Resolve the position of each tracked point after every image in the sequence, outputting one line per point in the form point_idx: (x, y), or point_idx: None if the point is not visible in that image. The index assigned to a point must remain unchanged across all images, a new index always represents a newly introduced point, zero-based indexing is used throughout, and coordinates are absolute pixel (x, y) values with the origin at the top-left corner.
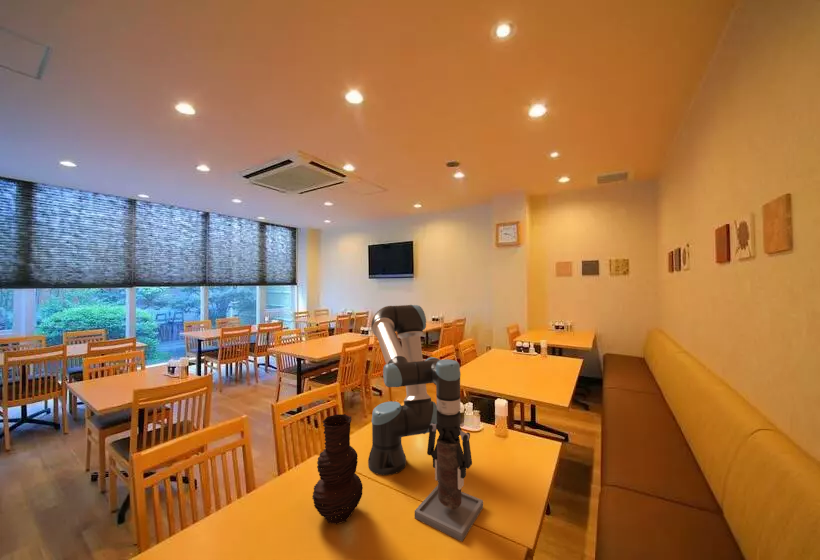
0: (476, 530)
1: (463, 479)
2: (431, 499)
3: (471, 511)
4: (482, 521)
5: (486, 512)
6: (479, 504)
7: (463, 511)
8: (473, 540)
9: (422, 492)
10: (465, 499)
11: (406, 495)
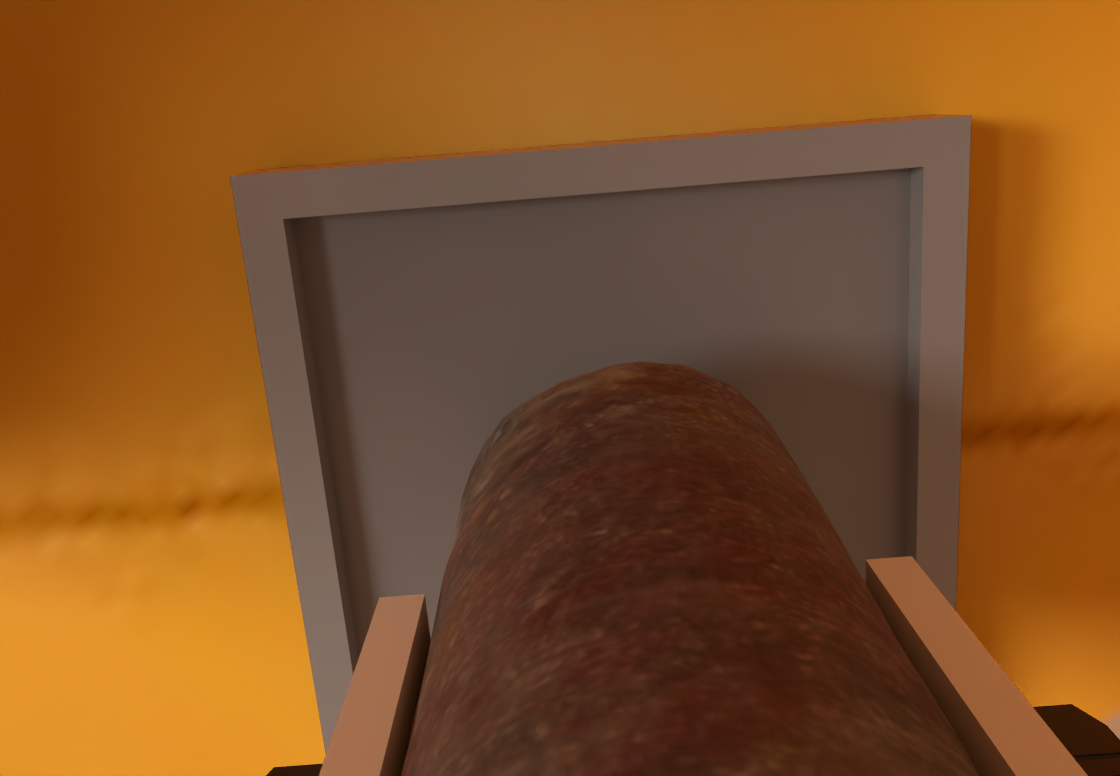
0: (991, 499)
1: (953, 617)
2: (345, 494)
3: (880, 364)
4: (1005, 342)
5: (999, 172)
6: (957, 232)
7: (795, 427)
8: (1010, 627)
9: (122, 369)
10: (717, 213)
11: (12, 537)
